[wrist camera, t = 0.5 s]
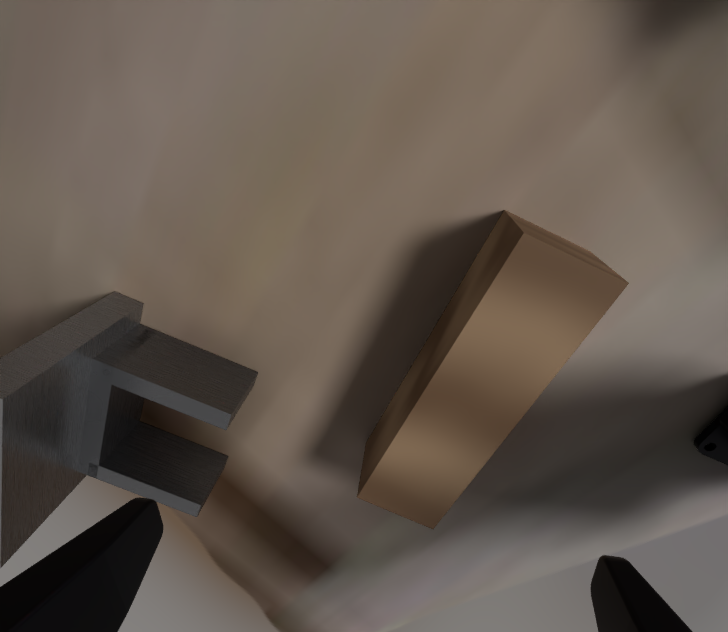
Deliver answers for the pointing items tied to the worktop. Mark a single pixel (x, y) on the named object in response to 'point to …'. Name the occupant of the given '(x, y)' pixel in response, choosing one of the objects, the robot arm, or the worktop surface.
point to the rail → (484, 366)
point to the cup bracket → (107, 415)
